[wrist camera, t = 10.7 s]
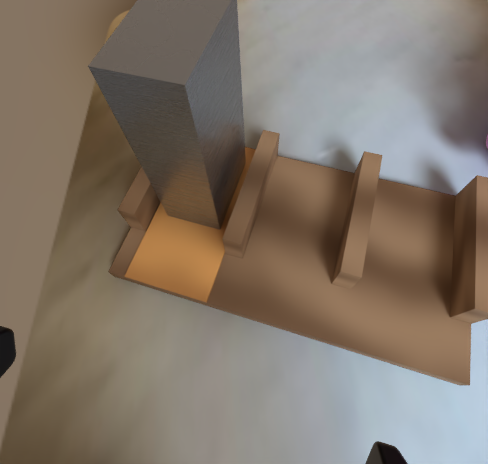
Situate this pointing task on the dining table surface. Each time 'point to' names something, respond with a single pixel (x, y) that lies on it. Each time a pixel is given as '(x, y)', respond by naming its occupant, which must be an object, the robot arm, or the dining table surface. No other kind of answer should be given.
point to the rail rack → (328, 258)
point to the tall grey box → (180, 101)
